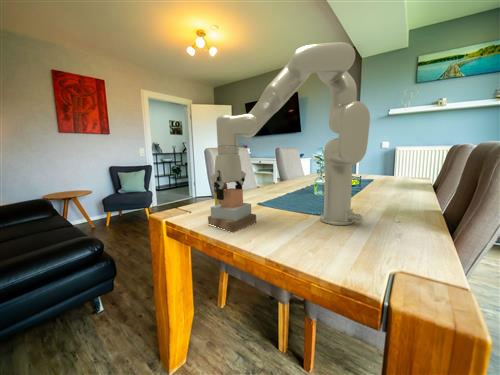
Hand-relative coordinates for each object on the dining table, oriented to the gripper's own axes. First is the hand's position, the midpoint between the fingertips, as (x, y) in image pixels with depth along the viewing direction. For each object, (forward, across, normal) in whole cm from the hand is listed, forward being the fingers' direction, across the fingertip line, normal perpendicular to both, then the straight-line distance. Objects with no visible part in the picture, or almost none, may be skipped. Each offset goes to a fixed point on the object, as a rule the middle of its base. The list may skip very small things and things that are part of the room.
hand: (230, 197), depth 82 cm
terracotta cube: (+3, 0, 0) cm, 3 cm away
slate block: (+7, 0, 0) cm, 7 cm away
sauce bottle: (+11, -8, -14) cm, 19 cm away
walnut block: (+11, 0, 0) cm, 11 cm away
